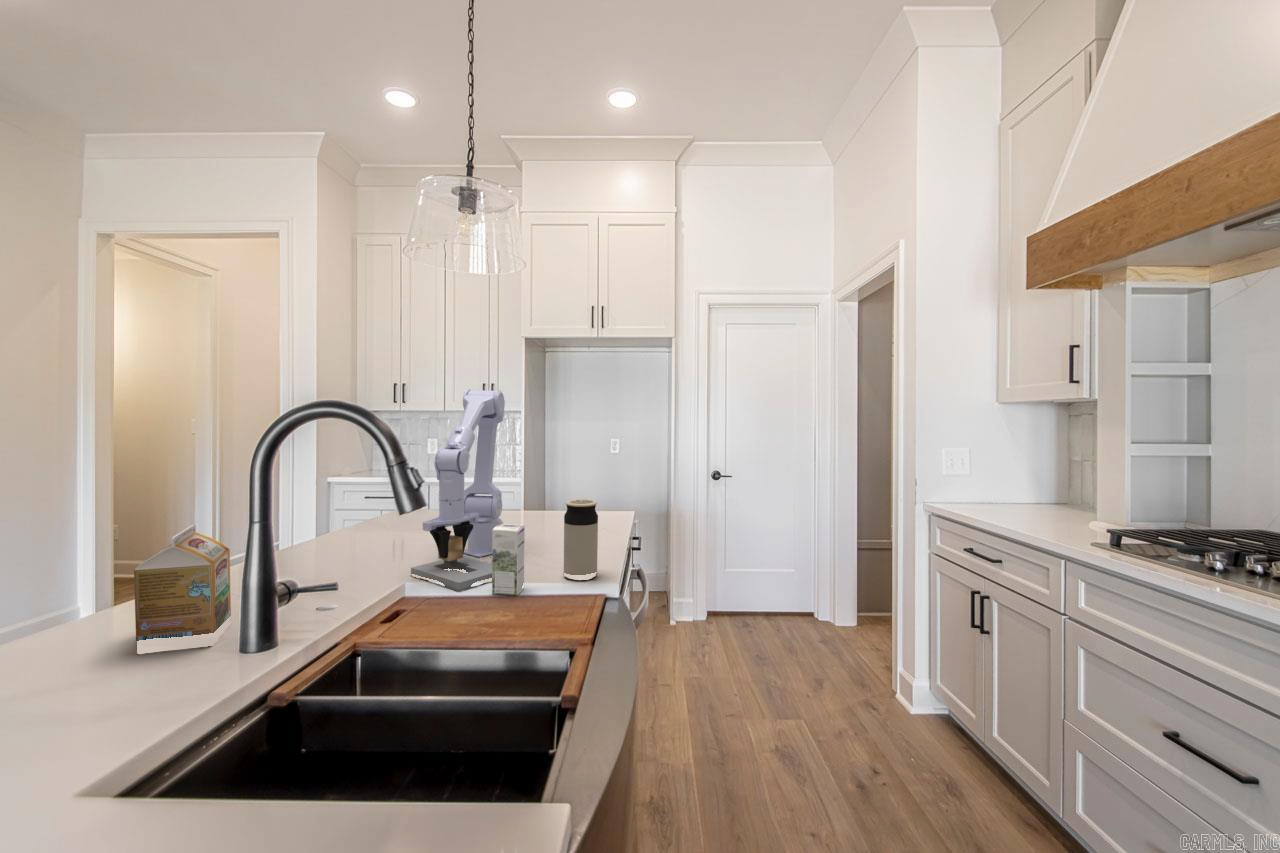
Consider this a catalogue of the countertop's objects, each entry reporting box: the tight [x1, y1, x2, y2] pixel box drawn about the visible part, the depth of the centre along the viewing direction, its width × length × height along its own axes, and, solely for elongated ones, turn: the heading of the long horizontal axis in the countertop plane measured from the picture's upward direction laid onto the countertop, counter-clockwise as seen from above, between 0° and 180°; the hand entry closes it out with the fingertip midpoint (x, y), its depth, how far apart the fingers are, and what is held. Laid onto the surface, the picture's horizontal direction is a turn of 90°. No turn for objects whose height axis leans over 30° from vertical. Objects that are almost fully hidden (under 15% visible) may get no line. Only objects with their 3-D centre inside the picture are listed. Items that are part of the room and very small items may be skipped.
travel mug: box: [563, 498, 599, 575], centre depth 143 cm, size 8×8×18 cm
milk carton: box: [133, 524, 232, 642], centre depth 104 cm, size 11×11×19 cm
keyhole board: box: [410, 556, 492, 593], centre depth 142 cm, size 14×18×2 cm
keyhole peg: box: [437, 534, 464, 566], centre depth 144 cm, size 4×4×6 cm
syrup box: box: [491, 523, 526, 596], centre depth 132 cm, size 6×6×14 cm
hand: (451, 555), depth 144 cm, fingers closed on keyhole peg, 4 cm apart
